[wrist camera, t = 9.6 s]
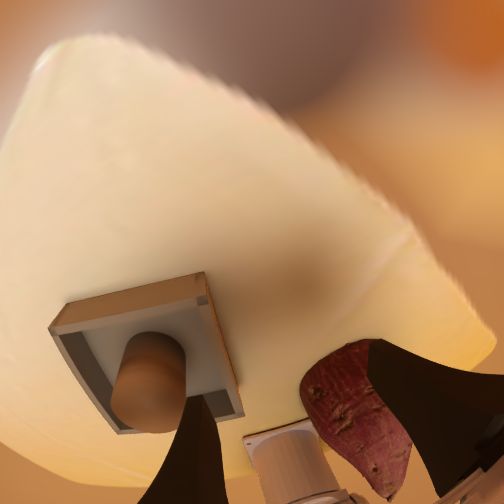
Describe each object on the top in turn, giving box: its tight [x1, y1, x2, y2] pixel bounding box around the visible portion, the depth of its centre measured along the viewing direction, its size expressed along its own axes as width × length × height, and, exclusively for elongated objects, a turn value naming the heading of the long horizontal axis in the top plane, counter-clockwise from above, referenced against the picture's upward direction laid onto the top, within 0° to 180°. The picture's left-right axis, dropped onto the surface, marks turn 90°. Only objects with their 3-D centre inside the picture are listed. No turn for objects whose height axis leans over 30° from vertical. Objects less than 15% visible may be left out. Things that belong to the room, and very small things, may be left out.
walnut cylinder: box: [111, 331, 186, 433], centre depth 16 cm, size 5×5×6 cm
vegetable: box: [300, 339, 413, 503], centre depth 19 cm, size 10×10×15 cm
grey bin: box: [48, 272, 245, 435], centre depth 18 cm, size 11×11×4 cm
